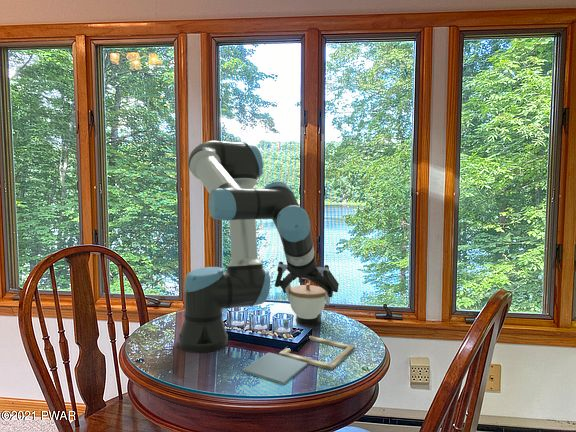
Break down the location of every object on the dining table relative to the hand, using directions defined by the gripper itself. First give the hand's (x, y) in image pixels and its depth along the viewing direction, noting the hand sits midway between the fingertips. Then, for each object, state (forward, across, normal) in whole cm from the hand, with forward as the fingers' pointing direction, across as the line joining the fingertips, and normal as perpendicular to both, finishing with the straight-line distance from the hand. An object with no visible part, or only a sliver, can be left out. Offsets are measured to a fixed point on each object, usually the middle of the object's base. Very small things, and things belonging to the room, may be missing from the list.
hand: (309, 298), depth 121 cm
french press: (+32, -5, +8) cm, 33 cm away
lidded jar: (+1, 0, -5) cm, 5 cm away
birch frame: (+13, +3, -10) cm, 17 cm away
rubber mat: (+4, -7, -20) cm, 22 cm away
